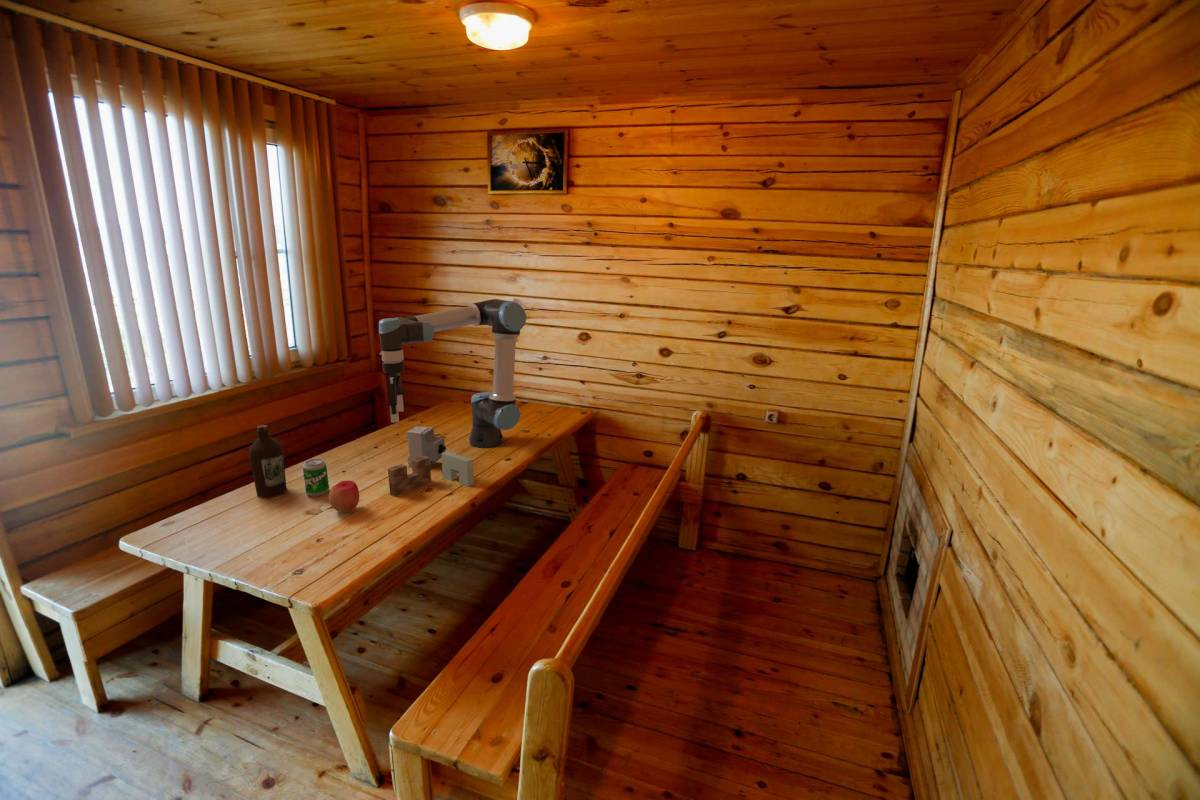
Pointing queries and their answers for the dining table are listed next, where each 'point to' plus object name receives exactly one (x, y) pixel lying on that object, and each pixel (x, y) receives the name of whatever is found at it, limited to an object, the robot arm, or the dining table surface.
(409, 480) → the brown notched flat block
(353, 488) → the apple
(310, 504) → the dining table surface
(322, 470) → the soda can
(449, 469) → the grey panel
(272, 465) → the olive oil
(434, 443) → the circuit breaker
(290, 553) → the dining table surface
